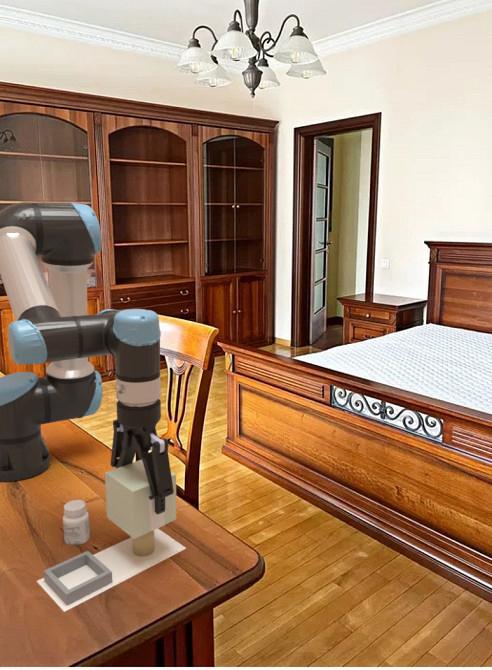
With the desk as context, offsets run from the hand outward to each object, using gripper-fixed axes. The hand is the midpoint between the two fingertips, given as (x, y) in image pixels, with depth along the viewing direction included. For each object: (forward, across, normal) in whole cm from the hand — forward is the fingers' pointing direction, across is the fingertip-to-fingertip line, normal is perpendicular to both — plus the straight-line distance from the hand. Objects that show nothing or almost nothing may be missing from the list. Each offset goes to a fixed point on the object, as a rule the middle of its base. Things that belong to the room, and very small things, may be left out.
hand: (141, 515), depth 99 cm
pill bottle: (+9, -11, -7) cm, 16 cm away
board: (+8, +1, -6) cm, 10 cm away
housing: (+1, 0, 0) cm, 1 cm away
